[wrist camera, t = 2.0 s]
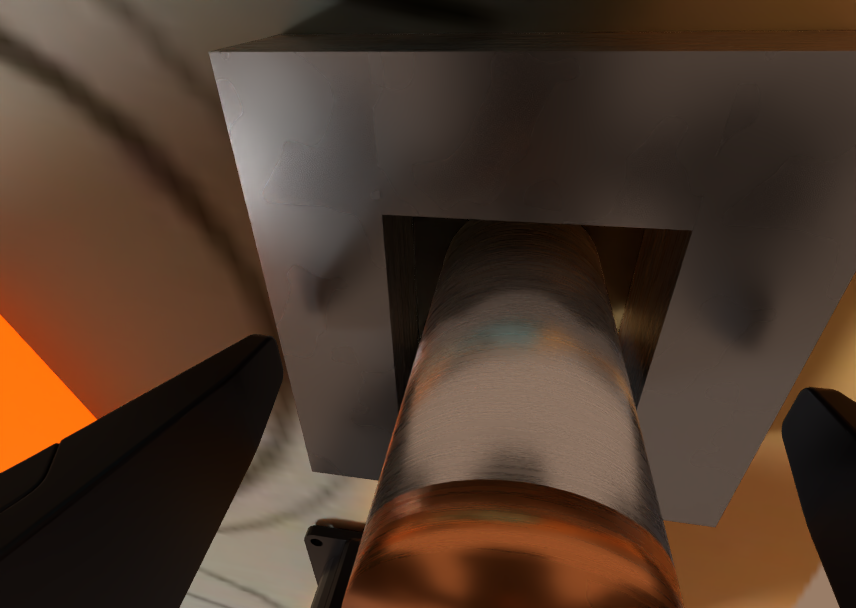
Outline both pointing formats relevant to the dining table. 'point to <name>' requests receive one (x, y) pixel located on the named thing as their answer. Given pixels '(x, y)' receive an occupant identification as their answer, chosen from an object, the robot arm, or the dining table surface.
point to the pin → (516, 443)
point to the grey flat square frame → (556, 212)
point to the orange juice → (32, 402)
